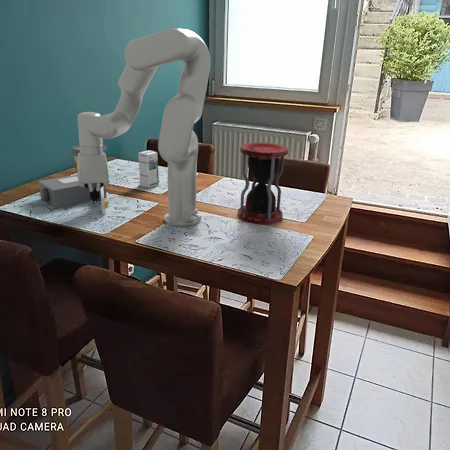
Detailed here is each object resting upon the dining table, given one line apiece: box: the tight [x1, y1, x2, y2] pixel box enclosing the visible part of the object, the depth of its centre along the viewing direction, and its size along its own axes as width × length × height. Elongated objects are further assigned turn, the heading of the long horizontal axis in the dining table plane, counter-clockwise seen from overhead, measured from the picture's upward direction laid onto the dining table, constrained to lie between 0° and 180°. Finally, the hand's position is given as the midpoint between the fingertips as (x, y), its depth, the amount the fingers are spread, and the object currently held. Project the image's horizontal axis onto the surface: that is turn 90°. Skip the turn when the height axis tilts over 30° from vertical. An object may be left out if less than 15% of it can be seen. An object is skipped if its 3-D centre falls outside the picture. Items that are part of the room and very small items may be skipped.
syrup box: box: [137, 149, 160, 189], centre depth 181 cm, size 6×6×14 cm
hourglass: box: [237, 141, 289, 225], centre depth 149 cm, size 16×16×25 cm
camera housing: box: [38, 174, 107, 210], centre depth 164 cm, size 14×21×7 cm, turn 132°
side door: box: [100, 186, 109, 215], centre depth 157 cm, size 2×17×6 cm, turn 16°
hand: (94, 200), depth 152 cm, fingers closed
